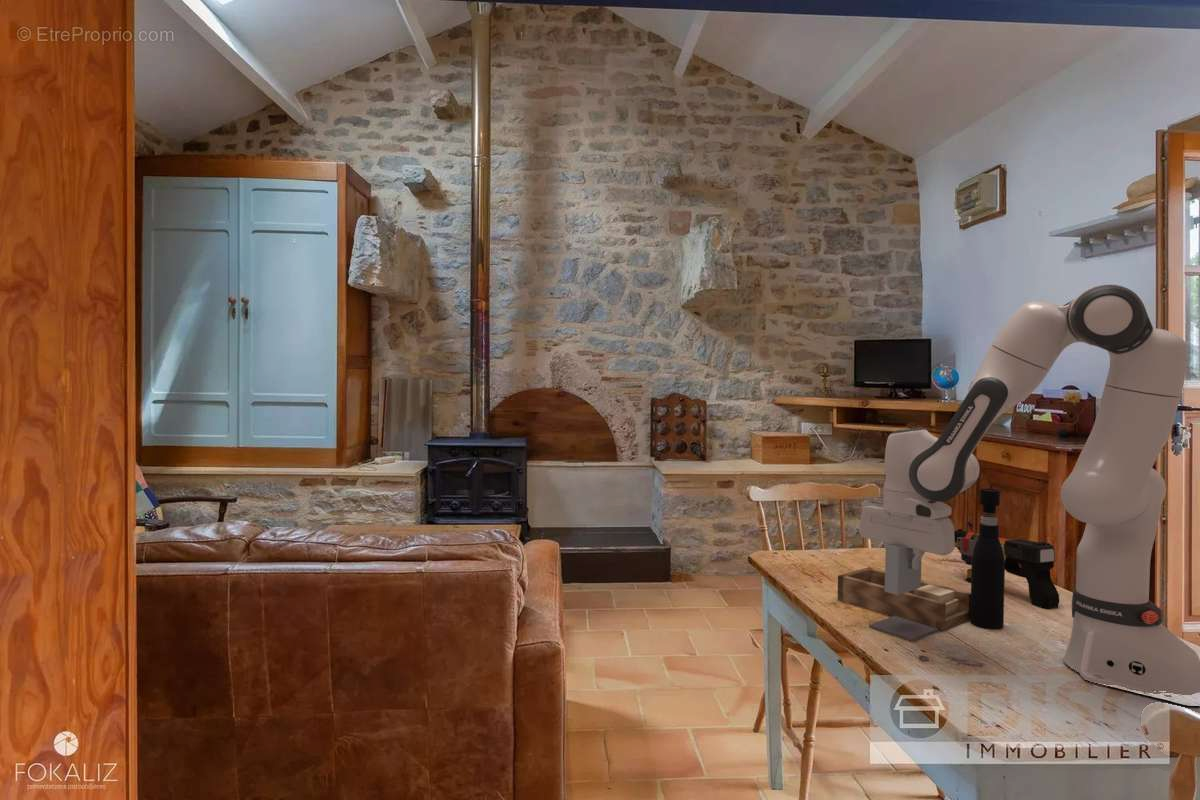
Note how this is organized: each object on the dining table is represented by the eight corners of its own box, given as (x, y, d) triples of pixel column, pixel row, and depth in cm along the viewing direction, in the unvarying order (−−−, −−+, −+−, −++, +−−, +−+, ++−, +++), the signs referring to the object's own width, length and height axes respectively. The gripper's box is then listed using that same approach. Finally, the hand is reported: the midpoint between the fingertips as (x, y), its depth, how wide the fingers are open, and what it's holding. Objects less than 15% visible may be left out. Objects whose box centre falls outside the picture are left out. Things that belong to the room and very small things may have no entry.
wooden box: (971, 619, 158) (972, 593, 157) (941, 631, 150) (942, 604, 150) (868, 590, 179) (869, 567, 178) (837, 599, 171) (837, 575, 171)
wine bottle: (1007, 630, 151) (1011, 492, 150) (975, 628, 152) (978, 491, 151) (997, 620, 157) (1000, 487, 156) (966, 618, 158) (969, 486, 157)
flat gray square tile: (938, 631, 150) (938, 628, 150) (912, 641, 144) (912, 638, 144) (894, 618, 158) (895, 615, 158) (869, 627, 152) (869, 624, 152)
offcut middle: (958, 610, 157) (958, 599, 157) (943, 617, 153) (943, 605, 153) (927, 602, 163) (927, 592, 163) (912, 608, 159) (912, 597, 159)
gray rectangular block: (920, 587, 152) (922, 542, 152) (897, 595, 147) (898, 548, 147) (907, 584, 155) (908, 539, 154) (884, 591, 150) (885, 545, 149)
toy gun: (966, 581, 192) (965, 526, 193) (1063, 607, 166) (1061, 544, 166) (947, 583, 190) (946, 528, 191) (1042, 610, 164) (1040, 546, 164)
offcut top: (954, 600, 157) (954, 591, 157) (939, 604, 154) (939, 595, 154) (929, 593, 162) (929, 584, 162) (914, 597, 159) (914, 588, 159)
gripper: (854, 496, 157) (852, 557, 157) (943, 512, 140) (941, 580, 141) (870, 494, 161) (868, 553, 161) (959, 509, 144) (957, 575, 145)
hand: (903, 566), depth 151 cm, fingers closed on gray rectangular block, 3 cm apart
